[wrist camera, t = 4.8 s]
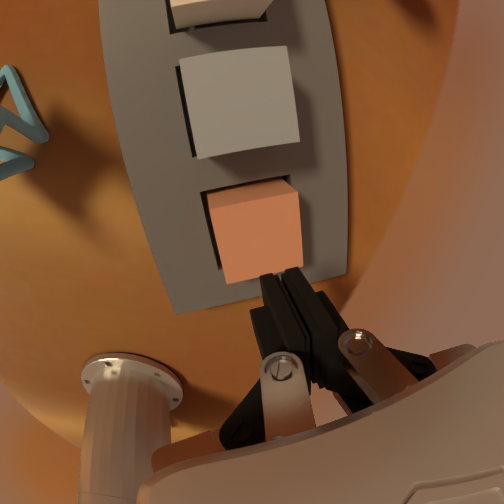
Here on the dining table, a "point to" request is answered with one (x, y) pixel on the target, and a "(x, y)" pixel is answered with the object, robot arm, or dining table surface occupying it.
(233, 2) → the cream button
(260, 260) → the terracotta button
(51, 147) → the dining table surface
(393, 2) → the dining table surface
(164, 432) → the robot arm
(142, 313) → the dining table surface
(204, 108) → the slate button
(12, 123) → the chair
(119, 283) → the dining table surface
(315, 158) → the button panel
